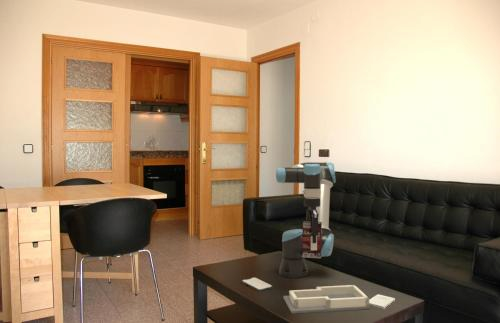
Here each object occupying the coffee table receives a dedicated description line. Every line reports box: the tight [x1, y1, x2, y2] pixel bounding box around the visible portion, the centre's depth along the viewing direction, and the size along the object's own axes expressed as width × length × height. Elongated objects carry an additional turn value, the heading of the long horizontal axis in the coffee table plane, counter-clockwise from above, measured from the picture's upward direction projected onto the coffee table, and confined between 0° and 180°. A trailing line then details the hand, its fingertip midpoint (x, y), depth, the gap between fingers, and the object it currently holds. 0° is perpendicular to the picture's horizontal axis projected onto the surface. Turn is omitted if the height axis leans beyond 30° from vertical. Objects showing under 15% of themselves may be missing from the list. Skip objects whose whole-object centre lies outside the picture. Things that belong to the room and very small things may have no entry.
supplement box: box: [302, 221, 322, 259], centre depth 182 cm, size 9×5×16 cm, turn 78°
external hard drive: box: [369, 294, 396, 310], centre depth 172 cm, size 2×8×12 cm
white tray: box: [282, 284, 371, 314], centre depth 172 cm, size 17×33×4 cm, turn 97°
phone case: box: [241, 277, 274, 292], centre depth 195 cm, size 9×2×16 cm
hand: (312, 248), depth 182 cm, fingers closed on supplement box, 6 cm apart
